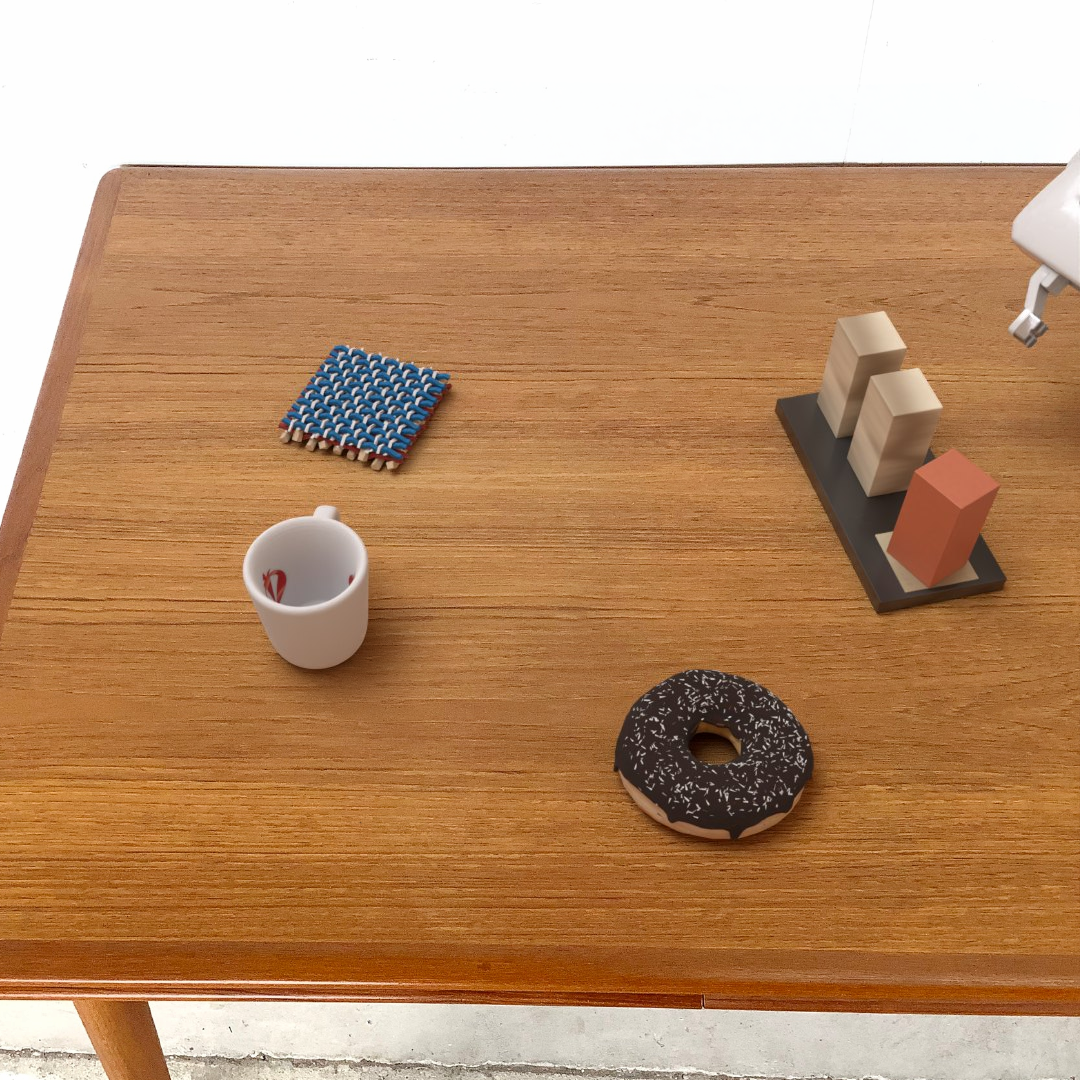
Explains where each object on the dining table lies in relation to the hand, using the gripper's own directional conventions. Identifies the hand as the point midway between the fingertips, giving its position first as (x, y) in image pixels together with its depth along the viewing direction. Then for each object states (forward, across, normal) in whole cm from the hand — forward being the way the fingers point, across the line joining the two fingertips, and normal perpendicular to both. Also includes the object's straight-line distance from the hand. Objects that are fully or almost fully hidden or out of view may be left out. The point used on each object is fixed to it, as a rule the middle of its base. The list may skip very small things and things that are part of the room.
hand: (1072, 380), depth 85 cm
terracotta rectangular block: (+14, +1, -1) cm, 15 cm away
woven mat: (+32, -34, -18) cm, 50 cm away
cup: (+41, -18, -26) cm, 52 cm away
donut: (+31, +6, -16) cm, 35 cm away
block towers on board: (+14, -5, +2) cm, 15 cm away
